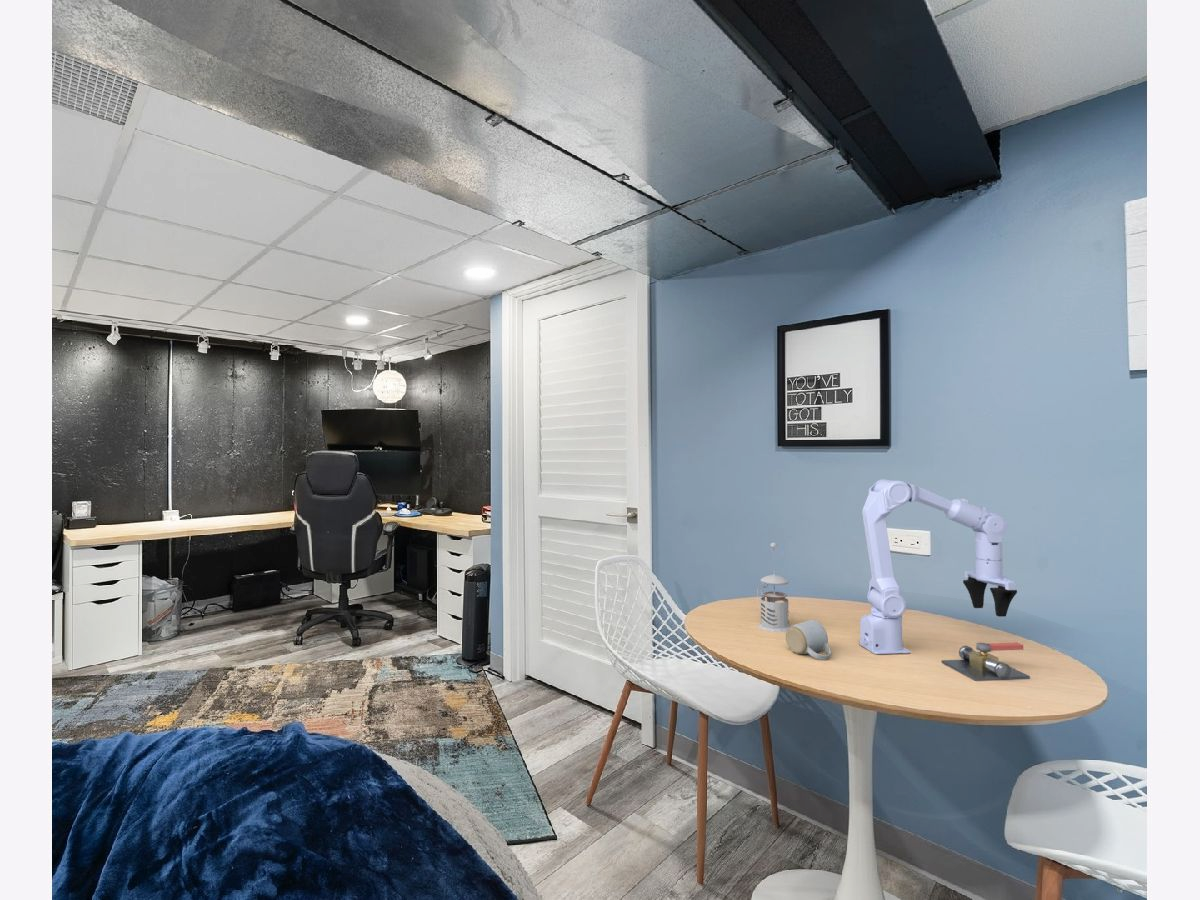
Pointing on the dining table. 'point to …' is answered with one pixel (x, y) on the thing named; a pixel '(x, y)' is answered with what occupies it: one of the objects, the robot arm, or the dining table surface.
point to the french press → (774, 604)
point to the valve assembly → (983, 666)
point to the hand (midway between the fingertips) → (989, 611)
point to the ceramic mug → (808, 639)
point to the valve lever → (998, 646)
